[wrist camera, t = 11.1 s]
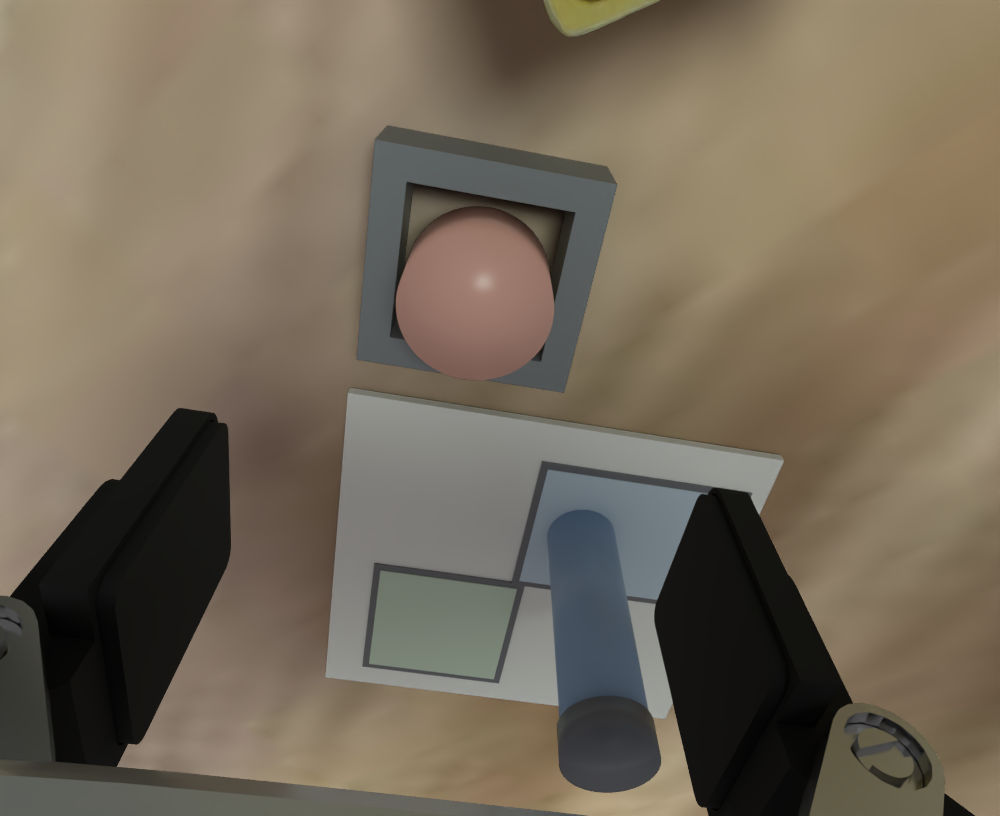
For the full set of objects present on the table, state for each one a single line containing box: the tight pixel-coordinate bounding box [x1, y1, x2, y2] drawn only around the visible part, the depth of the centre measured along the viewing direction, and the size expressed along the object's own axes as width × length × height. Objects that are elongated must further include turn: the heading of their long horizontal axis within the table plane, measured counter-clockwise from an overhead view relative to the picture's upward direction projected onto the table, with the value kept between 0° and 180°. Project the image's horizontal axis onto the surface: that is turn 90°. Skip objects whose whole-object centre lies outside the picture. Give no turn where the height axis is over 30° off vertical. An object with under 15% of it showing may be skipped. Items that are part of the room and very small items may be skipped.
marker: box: [547, 510, 661, 793], centre depth 25 cm, size 3×3×10 cm
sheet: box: [325, 388, 784, 719], centre depth 31 cm, size 17×16×1 cm
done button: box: [396, 206, 554, 380], centre depth 21 cm, size 4×4×3 cm
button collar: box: [357, 125, 617, 393], centre depth 23 cm, size 7×7×2 cm
